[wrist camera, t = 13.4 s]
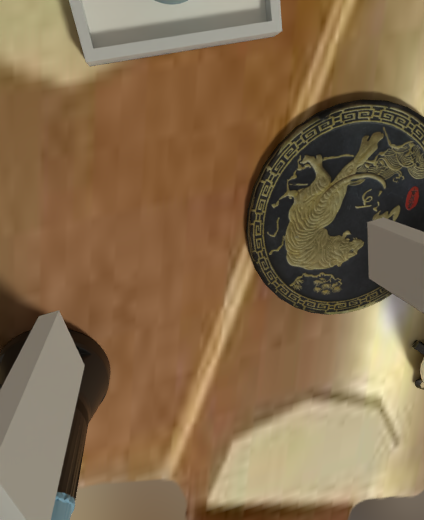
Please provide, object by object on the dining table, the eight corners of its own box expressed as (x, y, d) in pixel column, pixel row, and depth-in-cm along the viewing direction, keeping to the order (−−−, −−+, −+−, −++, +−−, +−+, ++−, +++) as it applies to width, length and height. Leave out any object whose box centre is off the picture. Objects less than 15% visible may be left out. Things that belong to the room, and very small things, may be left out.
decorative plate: (490, 117, 43) (413, 318, 54) (476, 117, 45) (404, 312, 56) (272, 80, 37) (233, 315, 48) (266, 82, 39) (230, 308, 49)
